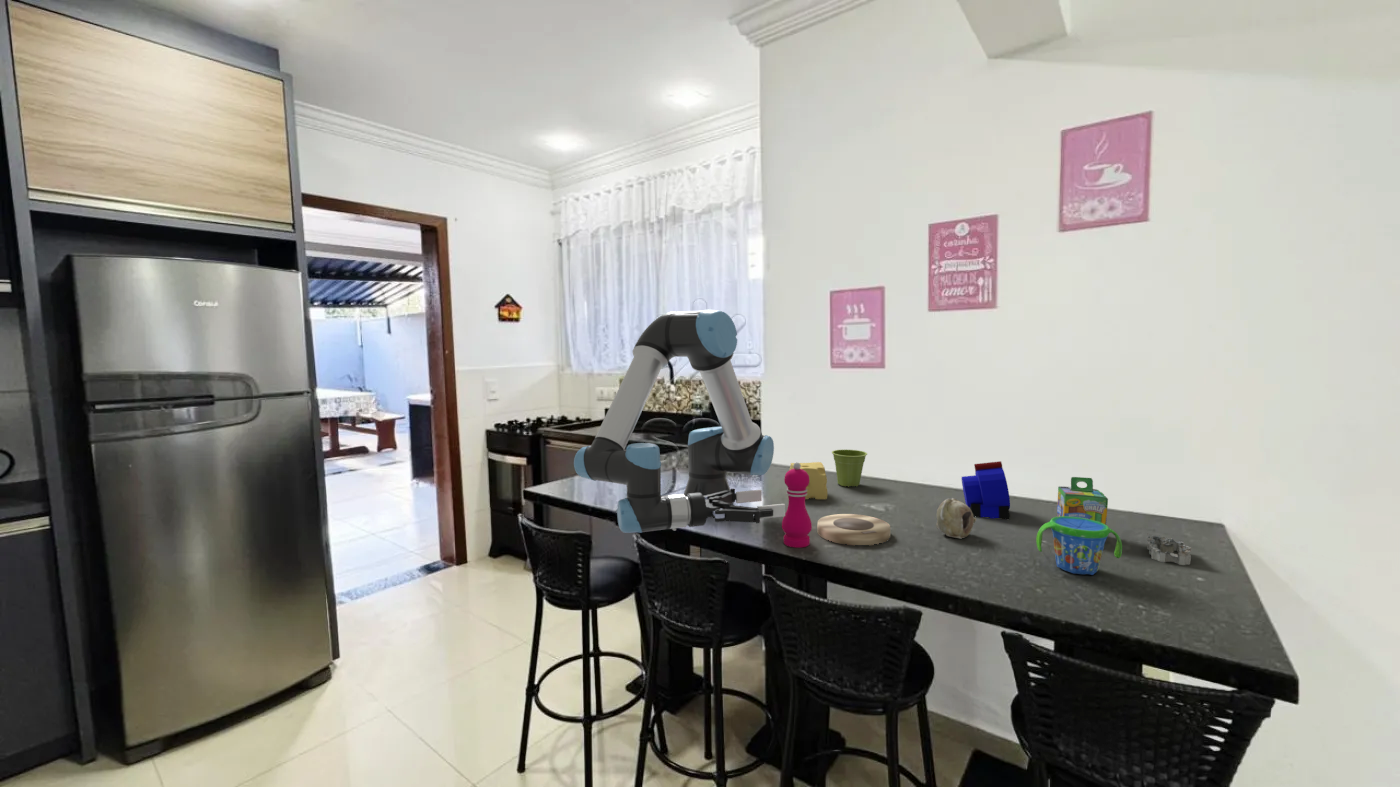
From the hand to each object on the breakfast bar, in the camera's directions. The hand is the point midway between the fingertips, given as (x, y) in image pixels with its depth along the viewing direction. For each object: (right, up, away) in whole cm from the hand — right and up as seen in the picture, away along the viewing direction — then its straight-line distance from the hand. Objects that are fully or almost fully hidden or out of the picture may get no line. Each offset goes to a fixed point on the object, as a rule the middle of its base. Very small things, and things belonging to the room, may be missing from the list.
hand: (772, 502), depth 140 cm
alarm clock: (+64, -8, +29) cm, 71 cm away
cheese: (+17, -7, +49) cm, 52 cm away
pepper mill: (+6, -11, +3) cm, 13 cm away
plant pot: (+34, -6, +62) cm, 71 cm away
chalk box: (+78, -10, +7) cm, 78 cm away
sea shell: (+48, -10, +9) cm, 49 cm away
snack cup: (+63, -12, -14) cm, 66 cm away
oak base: (+22, -10, +10) cm, 26 cm away
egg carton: (+88, -11, -7) cm, 89 cm away
